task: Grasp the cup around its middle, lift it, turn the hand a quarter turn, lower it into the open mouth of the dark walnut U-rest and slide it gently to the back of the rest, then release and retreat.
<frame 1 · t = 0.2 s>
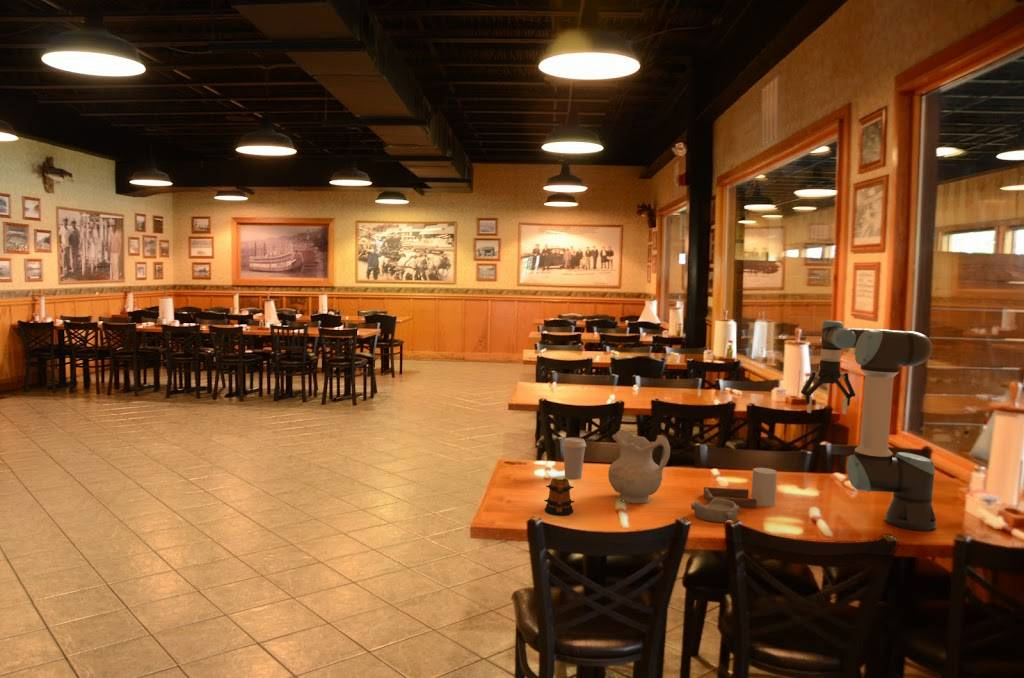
hand: (826, 413, 309), 28 cm above the table, fingers open, 13 cm apart
coffee cup: (573, 477, 307), on the table
dish: (716, 518, 262), on the table
u rest: (729, 501, 281), on the table
brown tiered piece: (558, 513, 262), on the table
ceramic pitcher: (637, 500, 280), on the table
cup: (762, 503, 280), on the table
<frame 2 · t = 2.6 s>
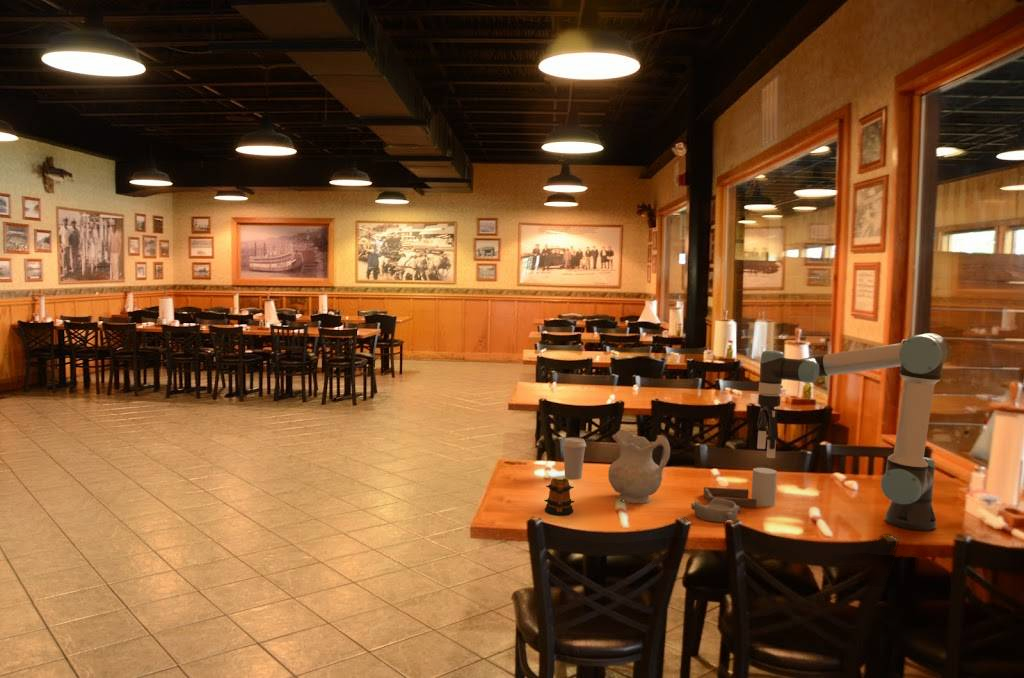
hand: (765, 453, 278), 18 cm above the table, fingers open, 13 cm apart
nothing on the table moved.
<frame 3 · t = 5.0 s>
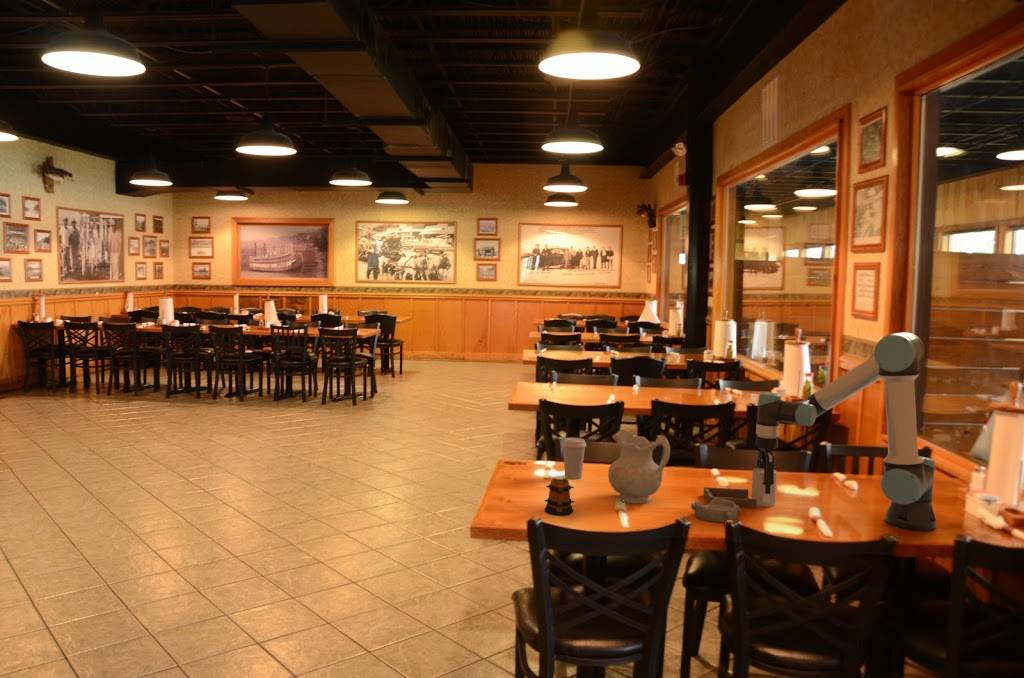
hand: (763, 498, 280), 2 cm above the table, fingers closed on cup, 8 cm apart
cup: (762, 503, 280), on the table, touching gripper
everything else where it was.
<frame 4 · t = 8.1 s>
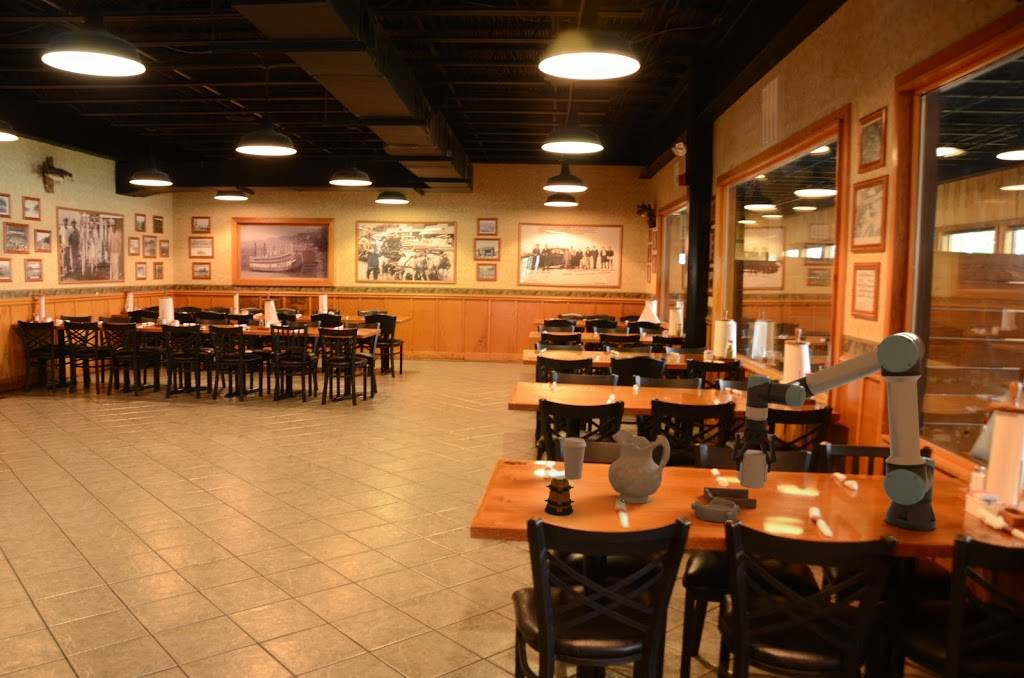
hand: (752, 480, 279), 8 cm above the table, fingers closed on cup, 8 cm apart
cup: (751, 485, 280), point 6 cm above the table, touching gripper
everything else where it was.
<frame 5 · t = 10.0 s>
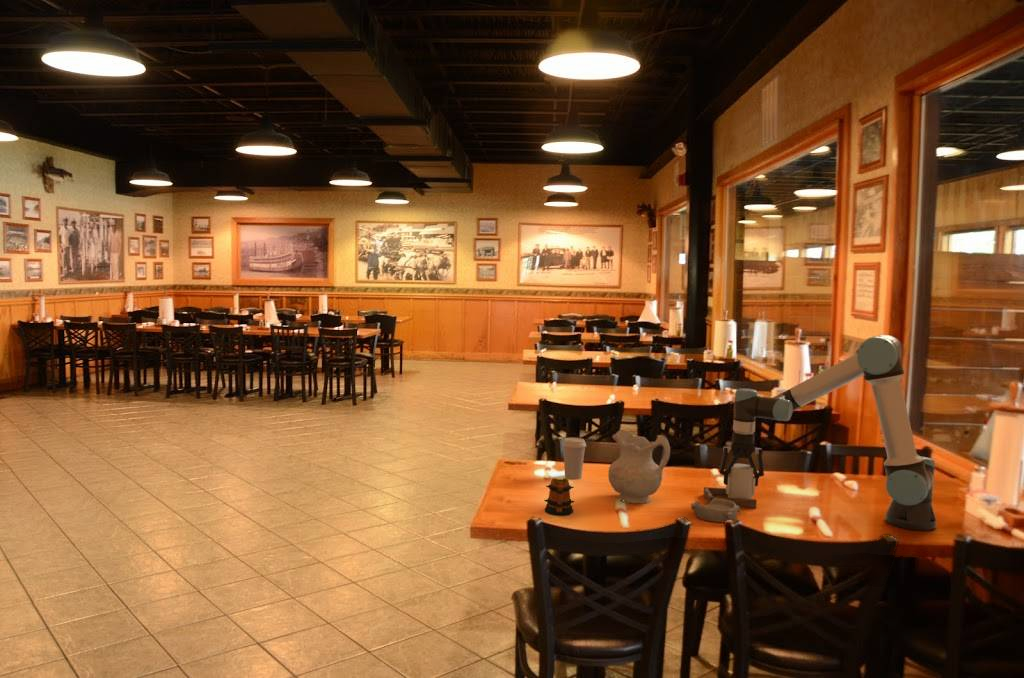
hand: (740, 494, 280), 3 cm above the table, fingers closed on cup, 8 cm apart
cup: (739, 499, 280), point 1 cm above the table, touching gripper
everything else where it was.
when the fingers open (3 cm above the table, at t = 11.5 s): cup stays where it is, on the table.
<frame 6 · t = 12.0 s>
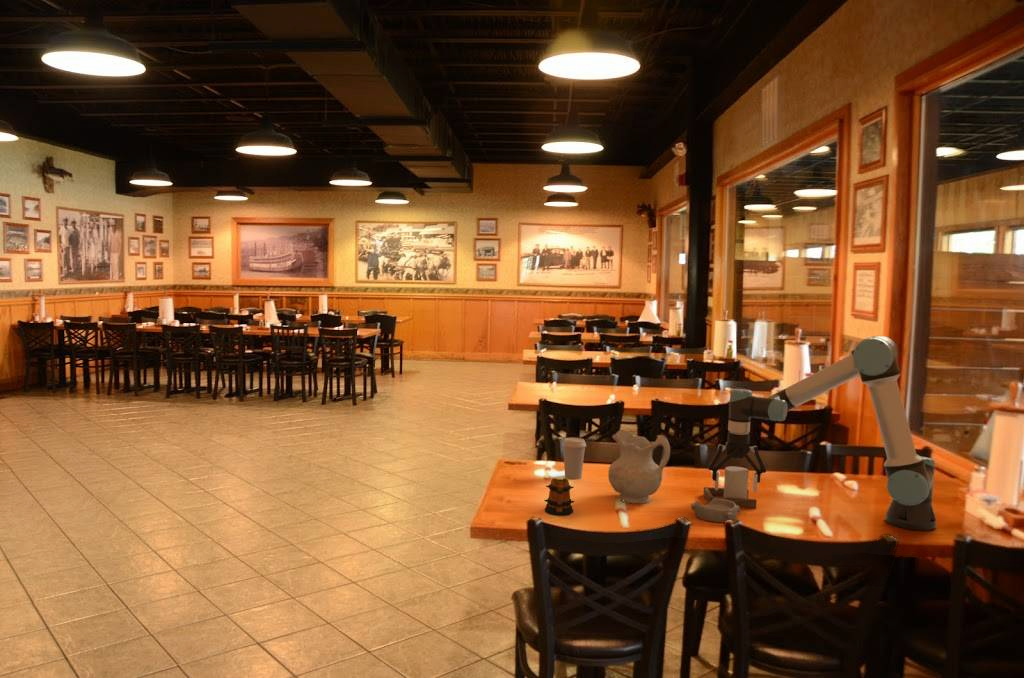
hand: (735, 490, 280), 4 cm above the table, fingers open, 13 cm apart
cup: (734, 502, 280), on the table
everything else where it was.
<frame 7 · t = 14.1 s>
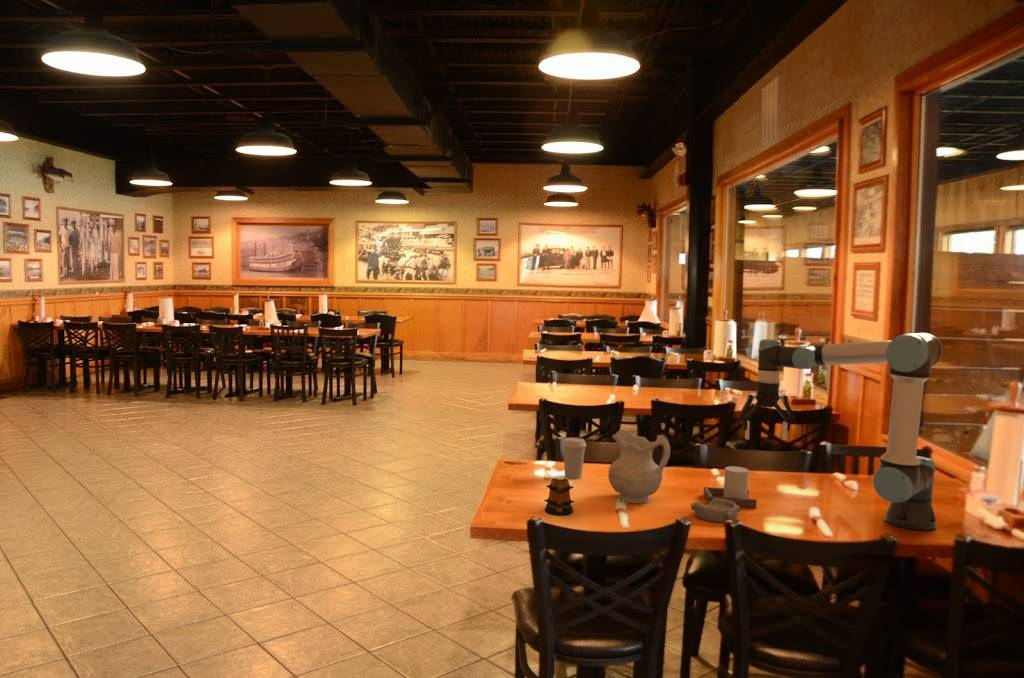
hand: (765, 439, 285), 22 cm above the table, fingers open, 13 cm apart
nothing on the table moved.
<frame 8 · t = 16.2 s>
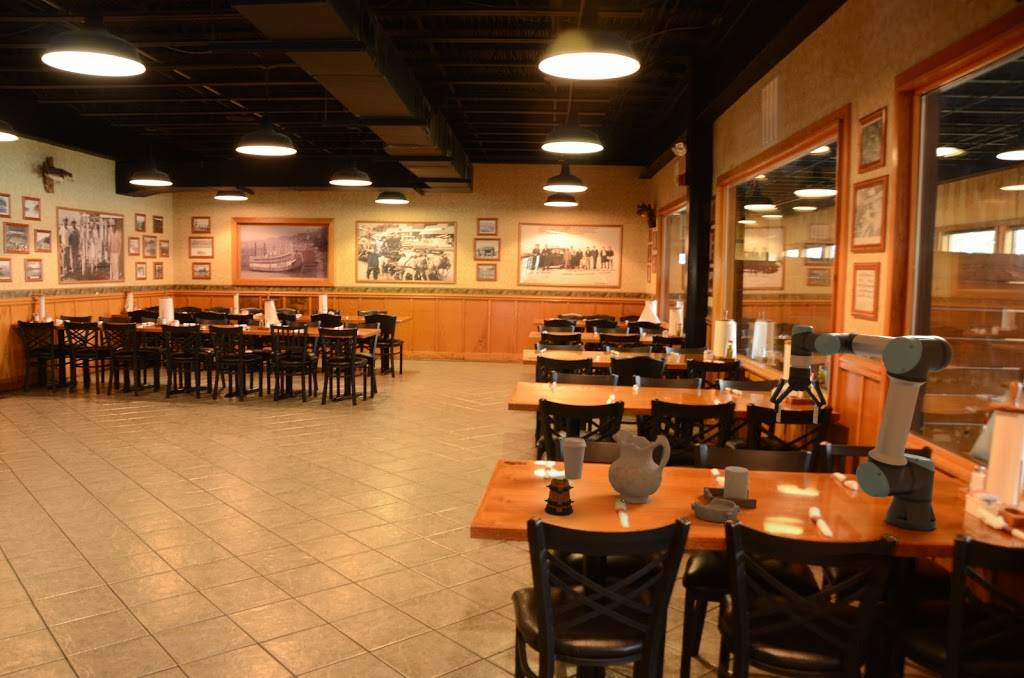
hand: (796, 422, 293), 27 cm above the table, fingers open, 13 cm apart
nothing on the table moved.
at the end: cup inside the target area on the u rest (1.1 cm from its centre), point 0.0 cm above the u rest's base; cup tilted 0°; the gripper is holding nothing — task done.
